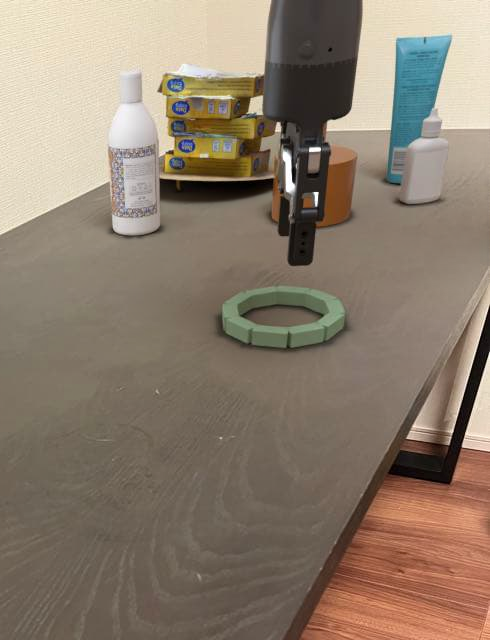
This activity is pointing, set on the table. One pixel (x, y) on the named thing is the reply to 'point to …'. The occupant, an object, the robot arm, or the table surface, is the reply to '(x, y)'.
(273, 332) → the rubber ring
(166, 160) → the stacked yellow boxes
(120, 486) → the table surface
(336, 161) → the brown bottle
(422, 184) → the eye dropper bottle
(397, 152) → the tube
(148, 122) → the bath foam
